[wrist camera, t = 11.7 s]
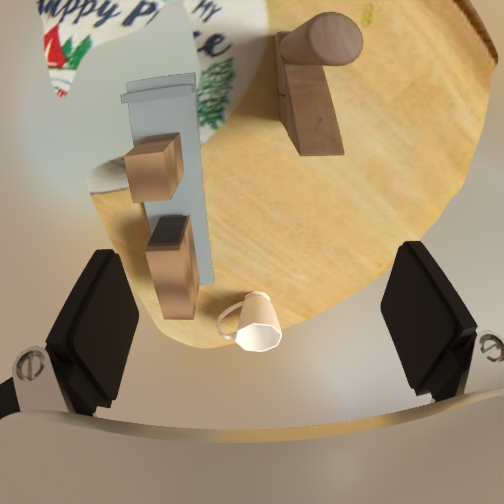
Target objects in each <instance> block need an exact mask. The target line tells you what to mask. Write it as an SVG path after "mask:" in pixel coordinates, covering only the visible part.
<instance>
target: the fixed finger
mask: <svg viewBox="0 0 504 504" xmlns="http://www.w3.org/2000/svg"><path fill="white" fill-rule="evenodd" d="M145 254H146V258H147V262H148V266H149V269H150V273H151V276H152V280H153V283H154V287H155V290H156V294H157V297H158V300H159V304H160V307H161V310H162V313H163V316H164V319H178V320H194V314H195V307H196V301H197V295H198V289H199V283H200V277H199V271H198V265H197V258H196V252H195V245H194V238H193V232H192V225H191V217H190V215H182V216H163V217H161V218H160V219H159V221H158V223H157V225H156V227H155V229H154V232H153V234H152V236H151V238H150V240H149V243H148V246H147V248H146V250H145Z"/></svg>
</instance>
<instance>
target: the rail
mask: <svg viewBox="0 0 504 504" xmlns="http://www.w3.org/2000/svg"><path fill="white" fill-rule="evenodd" d="M126 87H127V93H126V94H123V95H121V102H122V103H128V106H129V114H130V122H131V130H132V137H133V143H134V147H135V146H136V145H138V144H139V143H140V142H141V141H142V140H143V139H145V138H146V137H147V136H152V135H160V134H169V133H178V132H180V137H181V146H182V155H183V164H184V174H183V176H182V178H181V180H180V182H179V184H178V186H177V188H176V190H175V192H174V194H173V196H172V199H171V200H167V201H153V202H144V206H145V210H146V215H147V220H148V225H149V229H150V234H151V236H152V234H153V232H154V229H155V227H156V225H157V223H158V221H159V219H160V218H161V217H163V216H182V215H190V217H191V225H192V232H193V238H194V245H195V252H196V258H197V265H198V271H199V277H200V283H199V285H214V272H213V264H212V256H211V247H210V239H209V230H208V221H207V211H206V202H205V192H204V181H203V171H202V160H201V148H200V135H199V122H198V108H197V93H196V77H195V73H186V74H177V75H169V76H162V77H156V78H149V79H143V80H138V81H133V82H127V83H126Z"/></svg>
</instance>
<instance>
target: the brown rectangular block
mask: <svg viewBox="0 0 504 504" xmlns="http://www.w3.org/2000/svg"><path fill="white" fill-rule="evenodd" d="M124 161H125V167H126V172H127V177H128V182H129V187H130V192H131V196H132V201H133V203H141V202H153V201H167V200H171V199H172V196H173V194H174V192H175V190H176V188H177V186H178V184H179V182H180V180H181V178H182V176H183V174H184V164H183V155H182V146H181V137H180V132H178V133H169V134H160V135H152V136H147V137H146V138H145V139H143V140H142V141H141V142H140V143H139V144H138V145H136V146H135V147H134V148H133V149H132V150H131V151H130V152H128V153H127V154H126V155H125V156H124Z"/></svg>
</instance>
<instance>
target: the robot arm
mask: <svg viewBox="0 0 504 504" xmlns="http://www.w3.org/2000/svg"><path fill="white" fill-rule="evenodd" d="M381 313H382V315H383V318H384V320H385V322H386V325H387V327H388V330H389V332H390V335H391V337H392V340H393V342H394V345H395V347H396V350H397V353H398V356H399V358H400V361H401V364H402V366H403V369H404V372H405V375H406V377H407V380H408V383H409V385H410V387H411V388H412V389H414V390H415V393H416V395H417V396H419V395H423V394H427V393H431V395H432V400H431V402H430V404H427V405H423V406H420V407H415V408H411V409H408V410H403V411H399V412H394V413H390V414H385V415H380V416H375V417H370V418H364V419H358V420H352V421H345V422H338V423H331V424H323V425H313V426H304V427H291V428H276V429H252V430H251V429H250V430H218V429H217V430H216V429H191V428H176V427H164V426H154V425H145V424H137V423H130V422H122V421H115V420H108V419H103V418H98V417H97V415H96V413H95V412H96V408H97V406H100V407H106V408H110V407H111V403H112V400H115V399H116V398H117V395H118V391H119V387H120V383H121V379H122V375H123V372H124V368H125V365H126V361H127V357H128V354H129V350H130V347H131V344H132V340H133V336H134V333H135V330H136V327H137V324H138V320H139V311H138V308H137V306H136V303H135V300H134V297H133V294H132V292H131V289H130V286H129V283H128V280H127V277H126V274H125V271H124V268H123V265H122V262H121V259H120V256H119V254H117V253H115V252H114V251H113V250H112V249H102V250H96V251H95V252H94V254H93V255H92V257H91V259H90V260H89V262H88V264H87V265H86V267H85V269H84V270H83V272H82V274H81V275H80V277H79V279H78V281H77V282H76V284H75V286H74V287H73V289H72V291H71V293H70V295H69V296H68V298H67V300H66V302H65V304H64V306H63V308H62V309H61V311H60V313H59V315H58V317H57V319H56V321H55V323H54V325H53V327H52V329H51V331H50V333H49V335H48V337H47V339H46V343H47V345H46V348H45V349H43V348H42V347H38V346H33V347H30V348H27V349H25V350H24V351H22V352H21V353H20V354H19V355H18V356H17V358H16V360H15V362H14V364H13V368H12V375H13V377H11V378H10V379H8V380H6V381H5V382H3V383H2V384H0V504H504V339H503V338H502V337H501V336H500V335H499V334H497V333H496V332H493V331H490V330H484V331H482V332H480V333H479V334H478V335H477V333H476V331H475V330H476V328H477V327H478V326H477V324H476V322H475V321H474V319H473V317H472V316H471V314H470V312H469V311H468V309H467V307H466V306H465V304H464V303H463V301H462V299H461V298H460V296H459V295H458V293H457V292H456V290H455V289H454V287H453V286H452V284H451V283H450V281H449V280H448V278H447V277H446V275H445V274H444V272H443V271H442V270H441V268H440V267H439V265H438V264H437V263H436V261H435V260H434V258H433V257H432V256H431V254H430V253H429V251H428V250H427V249H426V247H425V246H424V245H423V243H422V242H420V241H405V242H404V243H403V245H402V246H400V247H399V248H398V251H397V254H396V258H395V261H394V264H393V268H392V271H391V274H390V278H389V281H388V283H387V286H386V290H385V293H384V295H383V298H382V301H381Z"/></svg>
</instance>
